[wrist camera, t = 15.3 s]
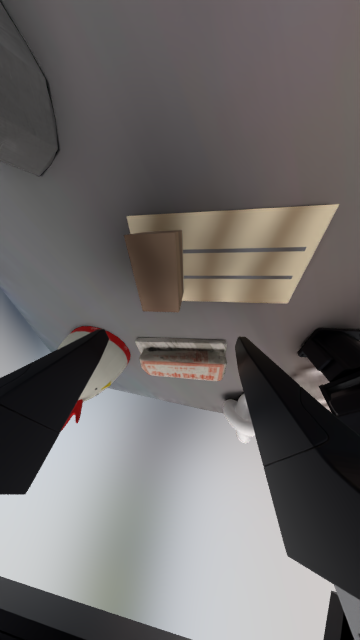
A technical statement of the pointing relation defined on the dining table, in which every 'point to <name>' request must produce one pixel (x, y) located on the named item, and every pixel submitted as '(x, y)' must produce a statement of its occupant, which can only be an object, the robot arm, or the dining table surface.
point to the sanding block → (158, 268)
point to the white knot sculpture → (239, 418)
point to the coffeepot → (23, 105)
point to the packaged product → (183, 357)
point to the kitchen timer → (100, 366)
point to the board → (243, 250)
